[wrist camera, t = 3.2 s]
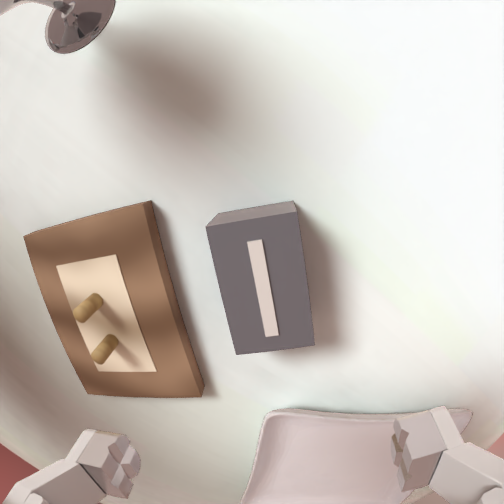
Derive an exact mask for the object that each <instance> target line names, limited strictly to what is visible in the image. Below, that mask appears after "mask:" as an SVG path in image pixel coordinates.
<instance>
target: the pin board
mask: <svg viewBox="0 0 504 504" xmlns="http://www.w3.org/2000/svg"><path fill="white" fill-rule="evenodd" d="M23 237H24V240H25V244H26V247H27V251H28V254H29V257H30V261H31V264H32V267H33V270H34V273H35V276H36V279H37V282H38V285H39V287H40V290H41V293H42V296H43V298H44V301H45V304H46V306H47V309H48V311H49V314H50V316H51V319H52V321H53V323H54V326H55V328H56V330H57V333H58V335H59V337H60V340H61V342H62V344H63V346H64V348H65V350H66V353H67V355H68V357H69V359H70V361H71V363H72V365H73V367H74V369H75V371H76V373H77V375H78V377H79V379H80V380H81V382H82V384H83V386H84V388H85V390H86V392H87V393H88V394H93V395H107V396H124V397H154V398H187V397H202V393H203V390H204V387H205V385H204V382H203V380H202V377H201V374H200V371H199V368H198V365H197V362H196V359H195V356H194V353H193V350H192V347H191V344H190V341H189V338H188V335H187V331H186V328H185V325H184V322H183V319H182V315H181V312H180V309H179V305H178V302H177V299H176V295H175V292H174V288H173V285H172V281H171V278H170V274H169V270H168V267H167V263H166V259H165V255H164V252H163V248H162V244H161V240H160V236H159V232H158V228H157V224H156V220H155V215H154V211H153V207H152V202H151V200H150V201H146V202H142V203H138V204H134V205H130V206H126V207H122V208H118V209H114V210H110V211H106V212H102V213H98V214H94V215H91V216H87V217H83V218H80V219H76V220H73V221H69V222H65V223H62V224H59V225H55V226H52V227H48V228H45V229H42V230H38V231H35V232H32V233H30V234H28V235H25V236H23Z"/></svg>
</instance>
